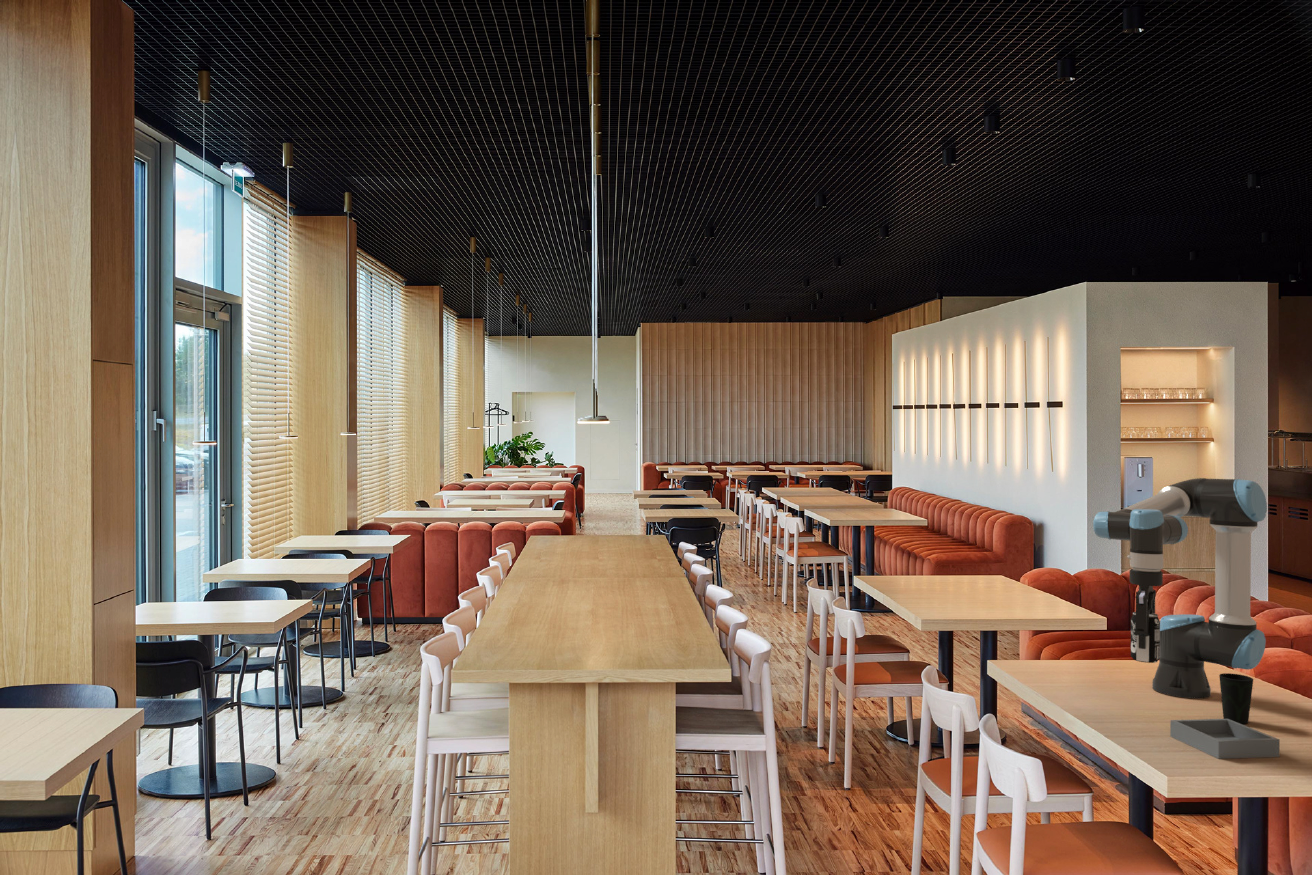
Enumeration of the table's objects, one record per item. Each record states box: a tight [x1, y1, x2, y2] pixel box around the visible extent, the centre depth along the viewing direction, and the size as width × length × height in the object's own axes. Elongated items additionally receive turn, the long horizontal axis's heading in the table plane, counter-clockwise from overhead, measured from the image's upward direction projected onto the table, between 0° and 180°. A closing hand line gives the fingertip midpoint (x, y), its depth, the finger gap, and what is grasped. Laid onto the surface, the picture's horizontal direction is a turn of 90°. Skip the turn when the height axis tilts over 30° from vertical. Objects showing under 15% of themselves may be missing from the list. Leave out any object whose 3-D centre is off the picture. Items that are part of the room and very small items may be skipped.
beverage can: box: [1130, 611, 1161, 664], centre depth 227 cm, size 7×7×12 cm
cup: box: [1218, 672, 1254, 726], centre depth 237 cm, size 8×8×12 cm
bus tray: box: [1170, 718, 1280, 760], centre depth 216 cm, size 16×16×4 cm
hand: (1145, 658), depth 227 cm, fingers closed on beverage can, 7 cm apart
